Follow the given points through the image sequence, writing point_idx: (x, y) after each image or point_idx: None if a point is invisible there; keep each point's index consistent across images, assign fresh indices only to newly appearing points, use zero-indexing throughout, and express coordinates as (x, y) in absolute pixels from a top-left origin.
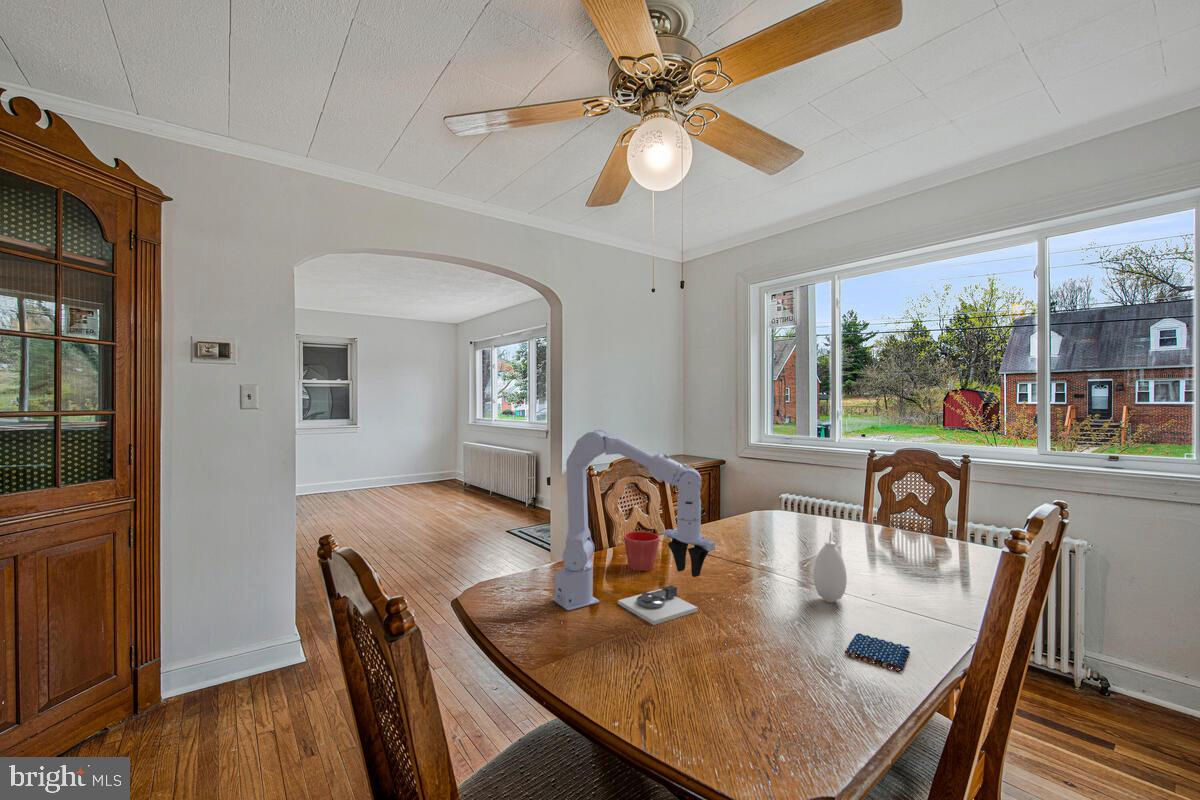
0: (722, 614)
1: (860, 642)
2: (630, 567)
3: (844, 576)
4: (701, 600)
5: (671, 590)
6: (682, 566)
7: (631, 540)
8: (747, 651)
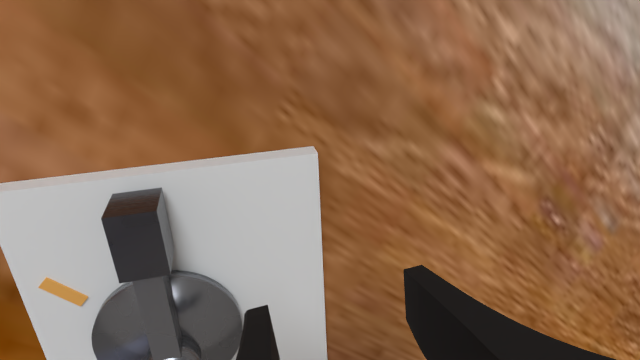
0: (402, 55)
1: None
2: None
3: None
4: (203, 27)
5: (167, 247)
6: (277, 351)
7: None
8: (626, 188)
